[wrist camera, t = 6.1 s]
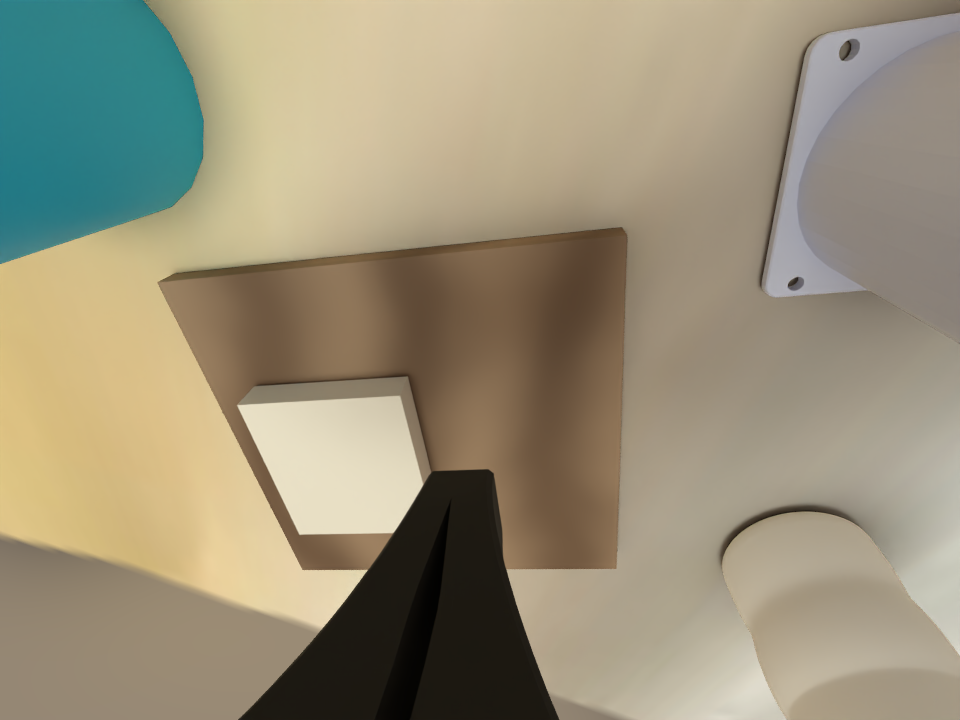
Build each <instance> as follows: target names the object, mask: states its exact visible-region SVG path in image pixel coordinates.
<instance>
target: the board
mask: <svg viewBox="0 0 960 720" xmlns="http://www.w3.org/2000/svg"><path fill="white" fill-rule="evenodd" d="M626 258H627V234H626V233H625V231H624V230H623V228H622V227H621V228H611V229H602V230H592V231H582V232H573V233H563V234H553V235H544V236H534V237H524V238H515V239H505V240H495V241H486V242H476V243H466V244H457V245H447V246H437V247H428V248H418V249H409V250H399V251H389V252H380V253H370V254H360V255H351V256H341V257H331V258H322V259H312V260H302V261H293V262H283V263H273V264H264V265H254V266H244V267H235V268H225V269H215V270H206V271H196V272H186V273H177V274H173V275H171V276H169V277H167V278H165V279H163V280H161V281H159V282H157V283H158V285H159V287H160V289H161V291H162V293H163V295H164V297H165V299H166V301H167V303H168V305H169V307H170V309H171V311H172V313H173V315H174V317H175V318H176V320H177V322H178V324H179V326H180V328H181V330H182V332H183V334H184V336H185V338H186V340H187V342H188V344H189V346H190V348H191V350H192V352H193V354H194V356H195V358H196V360H197V362H198V364H199V366H200V368H201V370H202V372H203V374H204V376H205V378H206V380H207V382H208V384H209V386H210V388H211V390H212V392H213V394H214V396H215V398H216V400H217V401H218V403H219V405H220V407H221V409H222V411H223V413H224V415H225V417H226V419H227V421H228V423H229V425H230V427H231V429H232V431H233V433H234V435H235V437H236V439H237V441H238V443H239V445H240V447H241V449H242V451H243V453H244V455H245V457H246V459H247V461H248V463H249V465H250V467H251V469H252V471H253V473H254V475H255V477H256V479H257V481H258V483H259V485H260V486H261V488H262V490H263V492H264V494H265V496H266V498H267V500H268V502H269V504H270V506H271V508H272V510H273V512H274V514H275V516H276V518H277V520H278V522H279V524H280V526H281V528H282V530H283V532H284V534H285V536H286V538H287V540H288V542H289V544H290V546H291V548H292V550H293V552H294V554H295V556H296V558H297V560H298V562H299V564H300V566H301V568H302V569H303V570H368V569H369V568H370V567H371V565H372V564H373V563H374V561H375V560H376V558H377V557H378V555H379V554H380V553H381V551H382V550H383V548H384V547H385V545H386V544H387V542H388V541H389V539H390V538H391V536H392V535H393V533H369V534H304V535H299V533H298V531H297V529H296V526H295V524H294V522H293V520H292V518H291V516H290V514H289V512H288V510H287V508H286V506H285V504H284V502H283V499H282V497H281V495H280V493H279V491H278V489H277V487H276V485H275V483H274V481H273V479H272V477H271V475H270V473H269V470H268V468H267V466H266V464H265V462H264V460H263V458H262V456H261V454H260V452H259V450H258V448H257V446H256V444H255V441H254V439H253V437H252V435H251V433H250V431H249V429H248V427H247V425H246V423H245V421H244V419H243V417H242V415H241V412H240V410H239V408H238V406H237V405H238V403H239V402H240V401H241V400H242V399H243V398H244V397H245V396H246V395H247V394H248V393H249V391H250V390H251V389H252V388H253V387H254V386H267V385H283V384H298V383H314V382H329V381H345V380H361V379H376V378H392V377H408V379H409V383H410V387H411V391H412V395H413V400H414V404H415V408H416V412H417V416H418V420H419V424H420V428H421V432H422V436H423V440H424V445H425V449H426V453H427V457H428V461H429V465H430V469H431V473H432V472H433V471H448V470H477V469H489V470H490V471H491V472H493V473H494V478H495V485H496V491H497V498H498V504H499V511H500V517H501V524H502V533H503V559H504V563H505V567H506V569H616V564H617V534H618V503H619V472H620V442H621V411H622V380H623V350H624V319H625V288H626Z"/></svg>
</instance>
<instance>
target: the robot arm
mask: <svg viewBox="0 0 960 720" xmlns="http://www.w3.org/2000/svg"><path fill="white" fill-rule="evenodd" d="M847 40H848V41H849V42H850V43H851V52H850V54H849V56H848V57H847V58H846V59H845V60H843V61H842V60H841V59H840V58H839V51H840V48H841V46H842V45H843V44H844V43H845V42H846V41H847ZM795 277H798V281H797V283H796V284H794V285H793V286H790V287H788V283H789V281H790V280H792V279H793V278H795ZM762 289H763V290H764V292H765V293H767V294H768V295H769V296H771V297H777V298H778V297H790V296H803V295H816V294H828V293H841V292H853V291H866V290H869V291H871V292H873V293H874V294H876V295H878V296H879V297H881V298H883V299H884V300H886V301H888V302H890V303H891V304H893V305H895V306H896V307H898V308H900V309H902V310H903V311H905V312H907V313H908V314H910V315H912V316H913V317H915V318H917V319H919V320H920V321H922V322H924V323H925V324H927V325H929V326H931V327H932V328H934V329H936V330H937V331H939V332H941V333H942V334H944V335H946V336H948V337H949V338H951V339H953V340H954V341H956V342H958V343H960V13H954V14H947V15H941V16H934V17H927V18H921V19H914V20H908V21H901V22H894V23H888V24H881V25H875V26H868V27H861V28H855V29H848V30H842V31H835V32H829V33H826V34H823V35H820V36H819V37H817V38H816V39H815V40H814V41H812V43H811V44H810V46H809V47H808V48H807V51H806V54H805V56H804V62H803V67H802V72H801V78H800V83H799V88H798V93H797V99H796V104H795V109H794V115H793V120H792V125H791V130H790V136H789V141H788V146H787V152H786V157H785V162H784V167H783V173H782V178H781V183H780V189H779V194H778V199H777V204H776V210H775V215H774V220H773V226H772V231H771V236H770V241H769V247H768V252H767V257H766V263H765V268H764V273H763V279H762ZM238 720H559V718H558V716H557V713H556V711H555V708H554V706H553V704H552V701H551V699H550V696H549V694H548V691H547V689H546V686H545V684H544V681H543V678H542V676H541V673H540V670H539V668H538V665H537V663H536V660H535V657H534V655H533V652H532V649H531V646H530V643H529V640H528V638H527V635H526V632H525V629H524V626H523V623H522V620H521V617H520V614H519V611H518V608H517V605H516V602H515V598H514V595H513V591H512V588H511V585H510V581H509V578H508V574H507V570H506V567H505V563H504V559H503V533H502V524H501V517H500V511H499V504H498V498H497V491H496V485H495V478H494V473H493V472H491V471H490V470H489V469H477V470H448V471H433V472H432V473H431V474H430V475H429V476H428V478H427V479H426V481H425V483H424V485H423V486H422V488H421V490H420V491H419V493H418V495H417V497H416V498H415V500H414V502H413V503H412V505H411V506H410V508H409V510H408V511H407V513H406V515H405V516H404V518H403V519H402V521H401V522H400V524H399V526H398V527H397V529H396V530H395V532H394V533H393V535H392V536H391V538H390V539H389V541H388V542H387V544H386V545H385V547H384V548H383V550H382V551H381V553H380V554H379V555H378V557H377V558H376V560H375V561H374V563H373V564H372V565H371V567H370V568H369V569H368V571H367V572H366V573H365V575H364V576H363V578H362V579H361V580H360V582H359V583H358V584H357V586H356V587H355V588H354V590H353V591H352V592H351V594H350V595H349V596H348V598H347V599H346V600H345V602H344V603H343V604H342V605H341V607H340V608H339V609H338V610H337V612H336V613H335V614H334V615H333V617H332V618H331V619H330V620H329V622H328V623H327V624H326V625H325V626H324V628H323V629H322V630H321V631H320V632H319V633H318V635H317V636H316V637H315V638H314V639H313V641H312V642H311V643H310V644H309V645H308V646H307V647H306V649H305V650H304V651H303V652H302V653H301V654H300V655H299V656H298V658H297V659H296V660H295V661H294V662H293V663H292V664H291V665H290V666H289V667H288V668H287V670H286V671H285V672H284V673H283V674H282V675H281V676H280V677H279V678H278V679H277V681H276V682H275V683H274V684H273V685H272V686H271V687H270V688H269V689H268V690H267V691H266V692H265V693H264V694H263V695H262V696H261V698H259V699H258V701H257V702H256V703H255V704H254V705H253V706H252V707H251V708H250V709H249V710H248V711H247V712H246V713H245V714H244V715H243V716H242V717H241V718H239V719H238Z"/></svg>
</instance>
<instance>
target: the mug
mask: <svg viewBox="0 0 960 720" xmlns="http://www.w3.org/2000/svg"><path fill="white" fill-rule="evenodd" d="M203 122H204V120H203V116H202V112H201V109H200V105H199V101H198V97H197V93H196V89H195V85H194V81H193V77H192V75H191V73H190V71H189V69H188V68H187V66H186V64H185V62H184V60H183V58H182V56H181V54H180V52H179V50H178V48H177V46H176V44H175V42H174V40H173V38H172V37H171V35H170V33H169V31H168V30H167V29H166V28H165V26H164V25H163V24H162V23H161V22H160V20H159V19H158V18H157V17H156V16H155V14H154V13H153V12H152V11H151V9H150V8H149V7H148V6H147V5H146V3H145V2H144V1H143V0H0V264H2V263H5V262H8V261H11V260H14V259H17V258H20V257H23V256H26V255H29V254H32V253H35V252H38V251H41V250H44V249H47V248H50V247H53V246H56V245H59V244H62V243H65V242H68V241H71V240H74V239H77V238H80V237H83V236H86V235H89V234H92V233H95V232H98V231H101V230H104V229H107V228H110V227H113V226H116V225H120V224H123V223H126V222H129V221H132V220H135V219H138V218H141V217H144V216H147V215H149V214H152V213H155V212H158V211H161V210H164V209H167V208H170V207H172V206H173V205H174V204H175V203H176V202H177V201H178V200H179V199H180V198H181V197H182V196H183V195H184V194H185V193H186V192H187V191H188V190H189V189H190V188H191V187H192V185H193V182H194V179H195V177H196V174H197V172H198V169H199V166H200V164H201V161H202V159H203Z"/></svg>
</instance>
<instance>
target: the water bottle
mask: <svg viewBox="0 0 960 720" xmlns="http://www.w3.org/2000/svg"><path fill="white" fill-rule="evenodd" d="M722 571H723V576H724V579H725V582H726V584H727V587H728V589H729V592H730V594H731V596H732V599H733V601H734V603H735V605H736V607H737V609H738V612H739V614H740V616H741V617H742V619H743V621H744V623H745V625H746V626H747V628H748V630H749V632H750V633H751V635H752V638H753V642H754V646H755V650H756V653H757V657H758V660H759V663H760V666H761V669H762V671H763V674H764V676H765V679H766V681H767V683H768V686H769V688H770V690H771V692H772V694H773V696H774V698H775V700H776V702H777V704H778V706H779V707H780V709H781V711H782V712H783V714H784V716H785V717H786V719H787V720H960V656H959V654H958V653H957V651H956V650H955V649H954V647H953V646H952V645H951V643H950V642H949V641H948V639H947V638H946V637H945V635H944V634H943V633H942V632H941V630H940V629H939V628H938V627H937V625H936V624H935V623H934V622H933V621H932V620H931V618H930V617H929V616H928V615H927V614H926V613H925V612H924V611H923V610H922V609H921V608H920V607H919V606H918V605H917V604H916V603H915V602H914V601H913V600H912V599H911V598H910V596H909V595H908V593H907V591H906V589H905V588H904V586H903V584H902V582H901V580H900V579H899V577H898V575H897V574H896V572H895V571H894V569H893V568H892V566H891V565H890V563H889V562H888V561H887V559H886V558H885V556H884V555H883V554H882V552H881V551H880V550H879V548H878V547H877V546H876V544H875V543H874V542H873V541H872V539H871V538H870V537H869V536H868V535H867V534H866V533H865V532H864V531H863V530H862V529H861V528H860V527H859V526H857V525H856V524H854V523H852V522H851V521H849V520H846V519H844V518H841V517H838V516H835V515H831V514H826V513H820V512H791V513H785V514H780V515H776V516H772V517H769V518H766V519H763V520H761V521H759V522H756V523H755V524H753V525H751V526H749V527H748V528H746V529H745V530H743V531H742V532H741V533H740V534H738V535H737V536H736V537H735V538H734V539H733V541H732V542H731V543H730V544H729V546H728V548H727V549H726V551H725V554H724V556H723V560H722Z"/></svg>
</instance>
